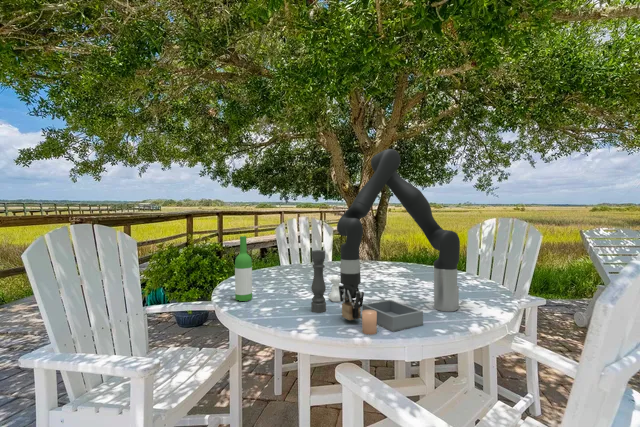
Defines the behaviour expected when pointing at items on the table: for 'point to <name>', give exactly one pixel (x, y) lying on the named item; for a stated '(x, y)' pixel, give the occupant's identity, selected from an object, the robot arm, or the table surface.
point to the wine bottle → (243, 273)
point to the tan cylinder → (369, 322)
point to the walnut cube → (348, 311)
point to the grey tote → (395, 315)
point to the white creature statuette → (335, 288)
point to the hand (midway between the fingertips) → (351, 315)
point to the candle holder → (318, 282)
